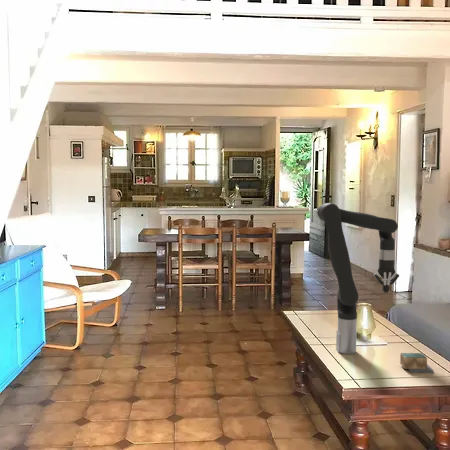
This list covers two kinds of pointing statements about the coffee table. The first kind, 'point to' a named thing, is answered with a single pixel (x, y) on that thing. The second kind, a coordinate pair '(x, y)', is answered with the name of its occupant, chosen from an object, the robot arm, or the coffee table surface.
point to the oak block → (413, 361)
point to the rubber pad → (422, 370)
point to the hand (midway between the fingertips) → (385, 292)
